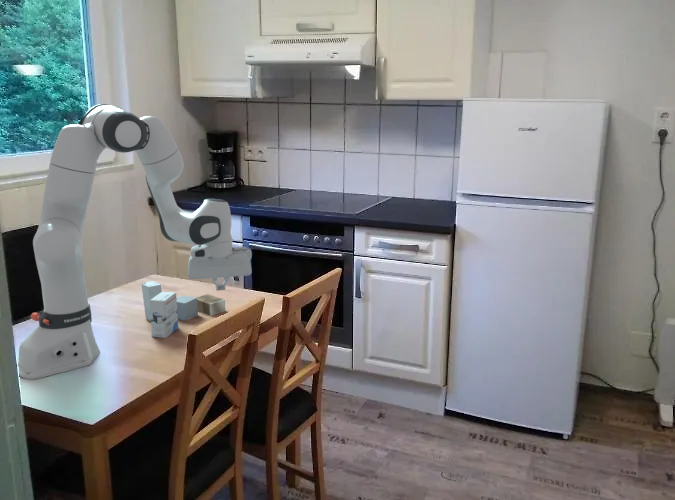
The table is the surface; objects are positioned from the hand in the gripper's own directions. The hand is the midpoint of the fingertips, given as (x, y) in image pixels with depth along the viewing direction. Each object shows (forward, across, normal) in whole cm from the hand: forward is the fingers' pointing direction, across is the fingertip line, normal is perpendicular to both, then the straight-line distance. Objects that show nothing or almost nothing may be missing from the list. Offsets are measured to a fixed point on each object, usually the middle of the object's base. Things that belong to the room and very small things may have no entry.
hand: (220, 289), depth 205 cm
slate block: (+8, +12, -1) cm, 15 cm away
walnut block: (+7, +1, -1) cm, 7 cm away
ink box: (+9, +17, +12) cm, 23 cm away
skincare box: (+9, +21, 0) cm, 23 cm away
